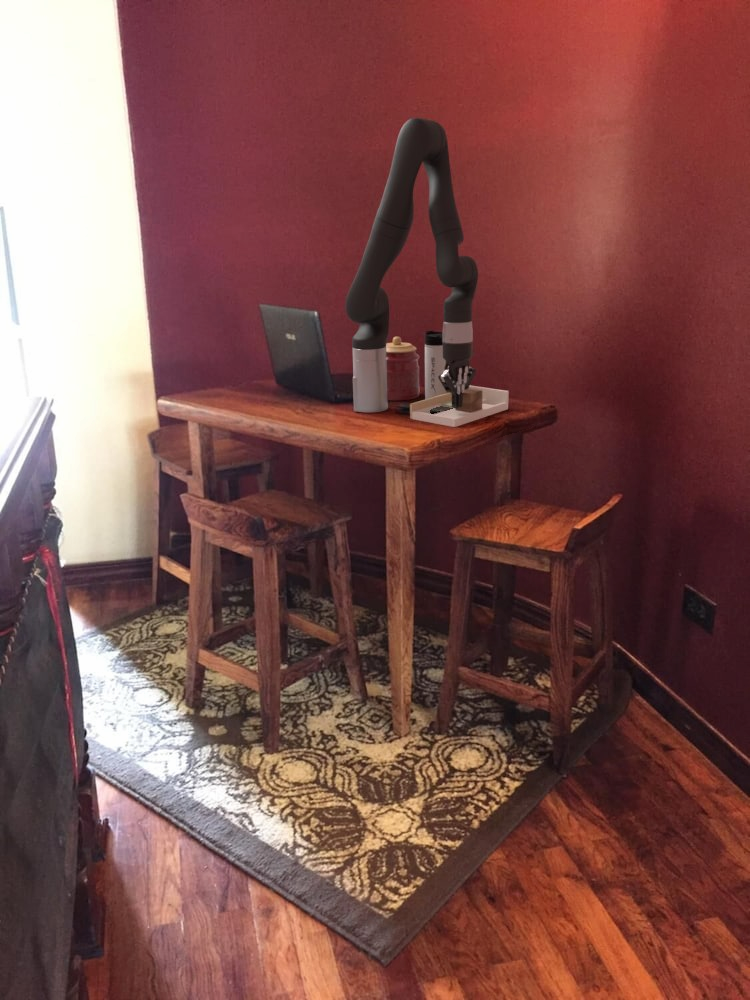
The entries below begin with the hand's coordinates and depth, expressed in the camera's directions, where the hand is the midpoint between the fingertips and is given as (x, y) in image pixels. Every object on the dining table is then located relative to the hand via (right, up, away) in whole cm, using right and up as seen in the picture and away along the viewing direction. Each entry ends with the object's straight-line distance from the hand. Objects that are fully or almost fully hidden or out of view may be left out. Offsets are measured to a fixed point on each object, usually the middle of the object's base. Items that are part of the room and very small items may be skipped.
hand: (457, 407), depth 200 cm
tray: (+2, -1, +8) cm, 8 cm away
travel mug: (-4, +4, +21) cm, 22 cm away
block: (+4, 0, +4) cm, 5 cm away
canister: (-14, +7, +31) cm, 35 cm away
